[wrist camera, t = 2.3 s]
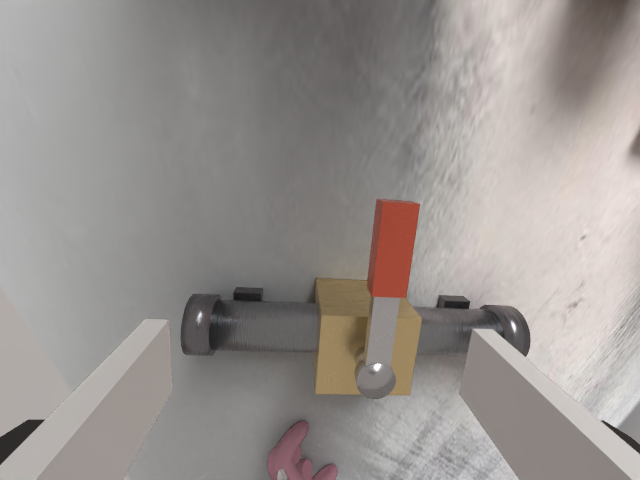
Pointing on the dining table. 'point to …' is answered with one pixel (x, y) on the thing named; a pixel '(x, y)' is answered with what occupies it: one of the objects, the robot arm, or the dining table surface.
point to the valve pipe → (341, 330)
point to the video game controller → (295, 458)
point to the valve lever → (386, 292)
